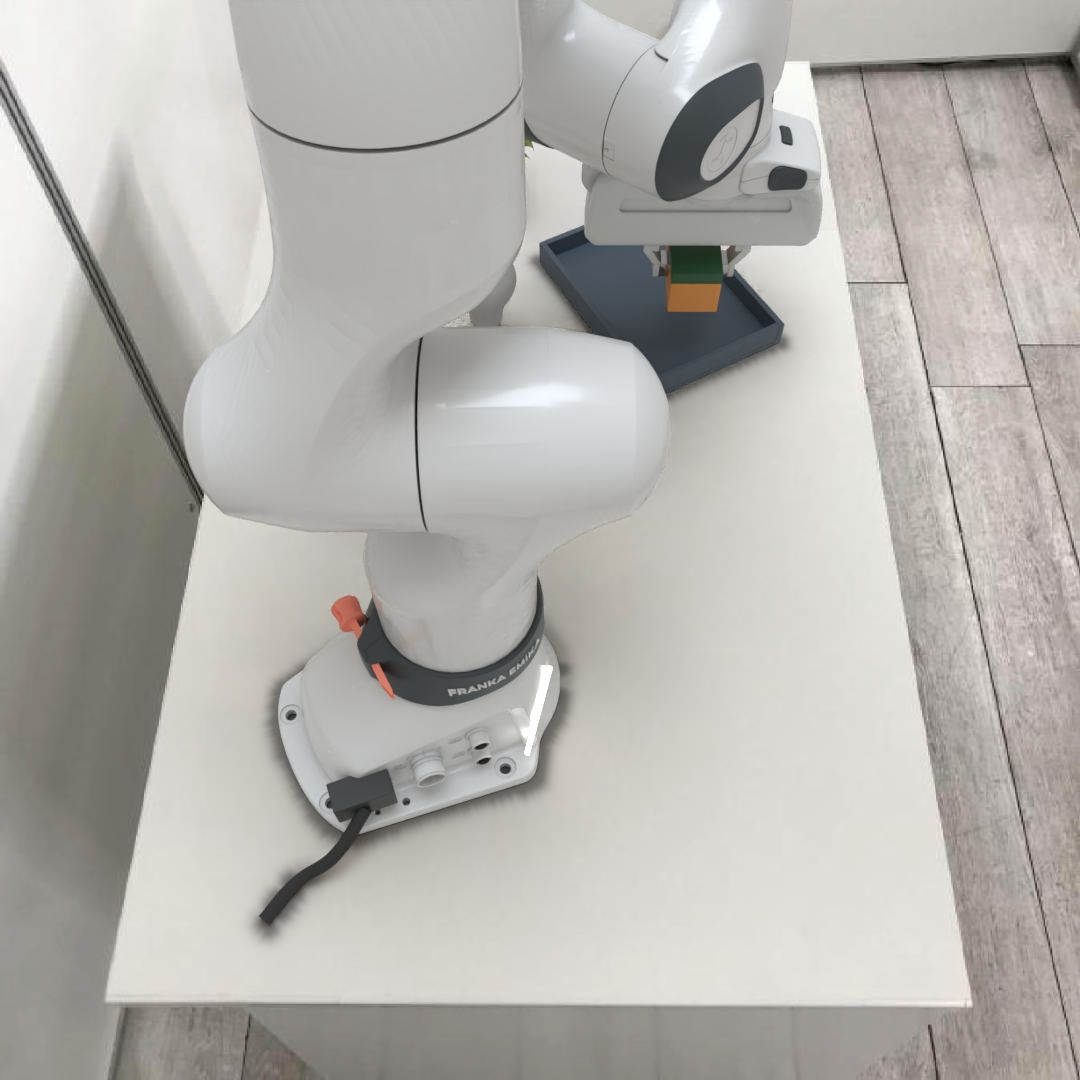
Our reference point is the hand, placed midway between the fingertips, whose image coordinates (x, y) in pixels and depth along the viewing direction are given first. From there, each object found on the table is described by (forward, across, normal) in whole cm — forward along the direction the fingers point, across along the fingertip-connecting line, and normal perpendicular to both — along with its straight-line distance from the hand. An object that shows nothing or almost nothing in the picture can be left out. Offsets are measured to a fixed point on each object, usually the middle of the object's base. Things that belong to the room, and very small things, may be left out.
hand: (692, 271), depth 98 cm
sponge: (+2, 0, 0) cm, 2 cm away
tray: (+8, -2, +4) cm, 10 cm away
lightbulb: (+8, -19, -1) cm, 21 cm away
